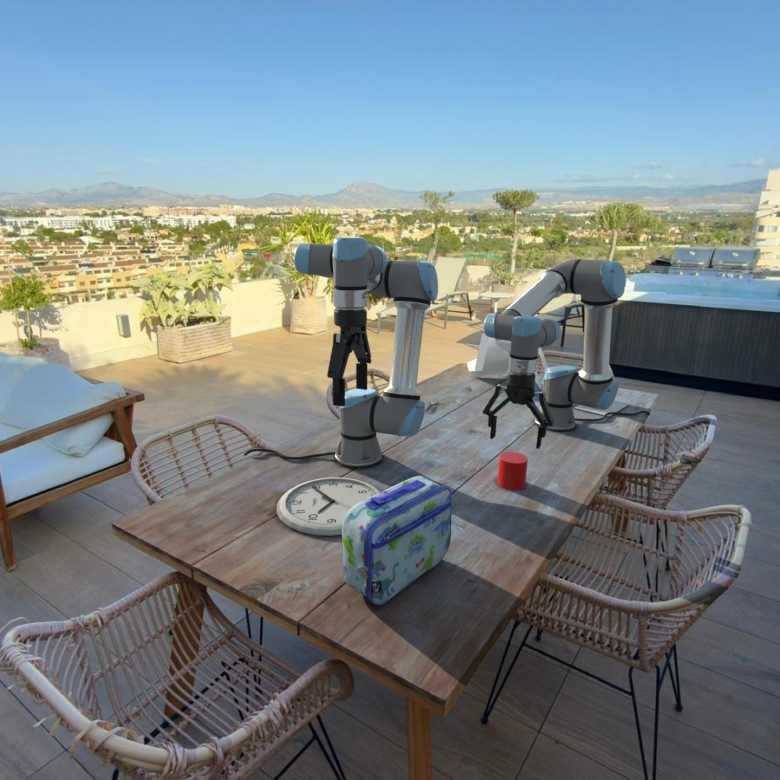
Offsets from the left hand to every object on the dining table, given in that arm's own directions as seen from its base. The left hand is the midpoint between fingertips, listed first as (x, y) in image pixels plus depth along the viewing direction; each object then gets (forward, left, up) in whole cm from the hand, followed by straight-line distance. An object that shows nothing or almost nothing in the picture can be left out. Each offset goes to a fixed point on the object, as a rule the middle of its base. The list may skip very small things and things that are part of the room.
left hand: (350, 396), depth 125 cm
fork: (-4, +96, -34) cm, 102 cm away
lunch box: (+18, -17, -34) cm, 42 cm away
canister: (+36, +37, -34) cm, 62 cm away
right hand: (+36, +37, -20) cm, 55 cm away
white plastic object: (+21, +143, -34) cm, 149 cm away
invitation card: (+64, +123, -34) cm, 143 cm away
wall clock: (-8, +6, -34) cm, 35 cm away
